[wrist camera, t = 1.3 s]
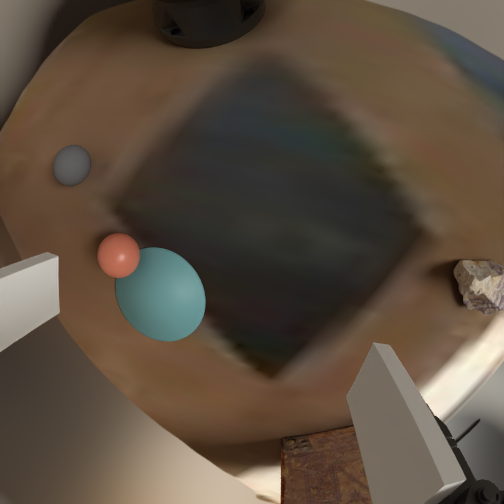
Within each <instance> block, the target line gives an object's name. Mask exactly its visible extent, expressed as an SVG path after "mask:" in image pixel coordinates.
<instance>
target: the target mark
mask: <svg viewBox="0 0 504 504" xmlns="http://www.w3.org/2000/svg"><path fill="white" fill-rule="evenodd" d="M116 297H117V301H118V304H119V307H120V309H121V311H122V313H123V315H124V316H125V318H126V319H127V320H128V322H129V323H130V324H131V325H132V326H133V327H134V328H135V329H136V330H138V331H139V332H141V333H142V334H144V335H146V336H147V337H150V338H152V339H156V340H160V341H176V340H179V339H182V338H185V337H186V336H188V335H190V334H191V333H192V332H193V331H194V330H195V329H196V328H197V327H198V325H199V324H200V322H201V320H202V318H203V315H204V311H205V292H204V288H203V285H202V282H201V280H200V278H199V276H198V274H197V273H196V271H195V270H194V269H193V267H192V266H191V265H190V264H189V263H188V262H187V261H186V260H185V259H184V258H182V257H181V256H179V255H178V254H176V253H174V252H172V251H170V250H167V249H163V248H157V247H150V248H144V249H140V261H139V264H138V266H137V268H136V270H135V271H134V272H133V273H132V274H130V275H129V276H127V277H124V278H116Z"/></svg>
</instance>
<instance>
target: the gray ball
mask: <svg viewBox="0 0 504 504" xmlns="http://www.w3.org/2000/svg"><path fill="white" fill-rule="evenodd" d="M90 167H91V160H90V156H89V154H88V152H87V151H86V150H85V149H84V148H83V147H81V146H78V145H70V146H67V147H65V148H63V149H62V150H60V151H59V153H58V154H57V155H56V157H55V159H54V163H53V172H54V175H55V177H56V179H57V180H58V181H59V182H60V183H61V184H63V185H66V186H74V185H77V184H79V183H81V182H82V181H83V180H84V179H85V178H86V177H87V175H88V173H89V171H90Z"/></svg>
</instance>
